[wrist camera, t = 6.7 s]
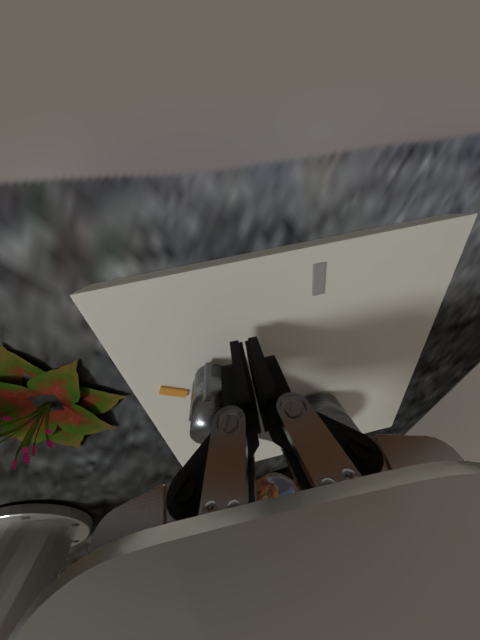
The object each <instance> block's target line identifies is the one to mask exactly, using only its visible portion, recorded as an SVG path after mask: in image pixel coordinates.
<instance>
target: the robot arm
mask: <svg viewBox="0 0 480 640" xmlns="http://www.w3.org/2000/svg"><path fill="white" fill-rule="evenodd" d="M245 345H246V351H247V356H248V361H249V367H250V372H251V377H252V381H253V385H252V381H251V377H250V373H249V368H248V364H247V360H246V356H245V351H244V347H243V343H242V342H239V341H238V340H236V341H231V342H230V350H231V358H232V364H229V365H225V366H221V384H222V405H223V408H221V409H220V410H219V411H218V412H217V413H216V415H215V416H214V419H213V422H212V428H211V433H210V434H209V435H208V436H207V438H206V439H205V440H204V441H203V443H202V444H201V445H200V446H199V448H198V449H197V450H196V451H195V453H194V454H193V455H192V456H191V458H190V459H189V460H188V461H187V462H186V464H185V465H184V466H183V467H182V469H181V470H180V471H179V472H178V474H177V475H176V476H175V478H174V479H173V481H172V482H170V483H168V484H166V485H164V484H161V485H160V486H158V487H156V488H154V489H152V490H150V491H148V492H146V493H144V494H142V495H140V496H138V497H136V498H134V499H132V500H130V501H128V502H126V503H125V504H123V505H121V506H119V507H117V508H115V509H113V510H112V511H110V512H109V513H108V514H106V515H105V517H104V518H103V519H102V520H101V521H100V522H99V524H98V526H97V527H96V529H95V531H94V532H93V535H92V538H91V541H90V544H89V549H88V553H87V555H86V556H85V557H83V558H81V559H80V560H78V561H77V562H76V563H74V564H73V565H72V566H71V567H69V568H68V569H67V570H66V571H64V572H63V573H62V574H61V575H60V576H58V574H59V572H60V570H61V567H62V565H63V563H64V560H65V558H66V556H67V553H68V551H69V549H70V547H71V546H74V545H76V544H78V543H80V542H82V541H83V540H84V539H85V538H86V537H87V536H88V535H89V533H90V530H91V527H92V524H93V521H92V518H91V517H90V515H88V514H87V513H86V512H84V511H82V510H79V509H77V508H73V507H70V506H65V505H59V504H49V503H29V504H17V505H10V506H5V507H0V640H480V463H476V462H468V461H464V460H463V459H462V458H461V456H460V455H459V454H458V453H457V452H456V451H455V450H454V449H453V448H452V447H450V446H449V445H448V444H446V443H445V442H443V441H441V440H439V439H436V438H434V437H429V436H407V435H375V436H374V437H368V436H366V435H365V434H363V433H361V432H359V431H357V430H355V429H353V428H351V427H349V426H346V425H344V424H342V423H340V422H338V421H336V420H334V419H332V418H330V417H328V416H326V415H323V414H321V413H319V412H317V411H315V410H314V408H313V407H312V406H311V404H310V403H309V401H308V400H307V399H306V398H305V397H304V396H302V395H300V394H298V393H294V392H291V390H290V388H289V386H288V384H287V381H286V379H285V377H284V375H283V373H282V370H281V368H280V366H279V364H278V361H277V359H276V357H275V356H274V355H272V356H267V357H264V355H263V352H262V349H261V346H260V344H259V341H258V338H257V336H255V337H250V338H248V341H245ZM253 386H254V390H255V394H256V398H257V402H258V406H259V410H260V415H261V419H262V423H263V427H264V431H265V432H269V434H270V438H272V441H273V442H274V443H275V444H277V445H278V446H280V447H281V451H282V453H283V455H284V457H285V460H286V462H287V464H288V466H289V469H290V471H291V473H292V475H293V478H294V480H295V482H296V485H297V487H298V489H299V491H298V492H294V493H290V494H286V495H282V496H277V497H273V498H269V499H265V500H261V501H257V499H256V475H255V455H254V454H255V452H256V450H257V449H258V447H259V445H260V444H259V439H258V434H260V433H262V432H261V426H260V421H259V416H258V410H257V405H256V399H255V394H254V390H253Z"/></svg>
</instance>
